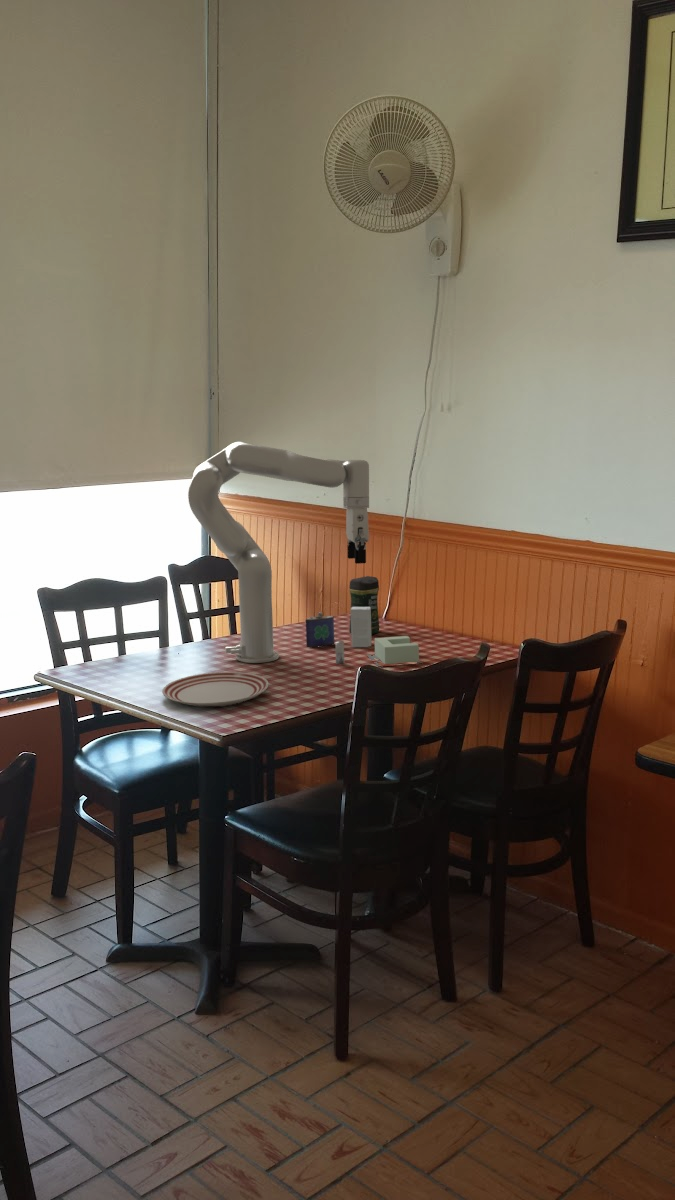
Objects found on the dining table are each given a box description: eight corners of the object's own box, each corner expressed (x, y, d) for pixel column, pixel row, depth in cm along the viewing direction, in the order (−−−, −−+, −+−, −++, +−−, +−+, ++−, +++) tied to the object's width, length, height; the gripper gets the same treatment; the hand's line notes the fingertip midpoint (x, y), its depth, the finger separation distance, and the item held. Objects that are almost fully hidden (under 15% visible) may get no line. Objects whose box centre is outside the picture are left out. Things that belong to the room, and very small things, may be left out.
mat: (378, 667, 303) (378, 666, 303) (366, 655, 316) (366, 654, 316) (422, 664, 306) (422, 662, 306) (408, 652, 319) (408, 651, 319)
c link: (385, 664, 304) (384, 647, 303) (374, 654, 316) (374, 638, 315) (418, 661, 306) (418, 644, 305) (407, 652, 318) (407, 635, 317)
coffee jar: (364, 638, 339) (363, 580, 335) (345, 634, 344) (344, 577, 341) (384, 632, 346) (383, 576, 342) (365, 629, 351) (364, 573, 348)
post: (336, 665, 306) (336, 643, 305) (335, 663, 309) (334, 641, 308) (345, 664, 307) (344, 642, 306) (343, 662, 309) (342, 640, 308)
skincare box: (371, 644, 330) (371, 606, 328) (370, 647, 326) (370, 609, 324) (352, 644, 331) (351, 606, 329) (351, 647, 327) (350, 609, 325)
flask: (332, 643, 333) (331, 609, 331) (336, 645, 331) (335, 611, 328) (305, 646, 330) (304, 612, 327) (308, 648, 327) (307, 614, 325)
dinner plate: (213, 720, 259) (212, 706, 258) (140, 700, 276) (140, 688, 276) (290, 694, 279) (290, 682, 278) (218, 677, 297) (218, 666, 296)
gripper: (376, 505, 304) (376, 564, 307) (362, 499, 321) (362, 556, 324) (350, 506, 303) (350, 565, 306) (337, 500, 319) (338, 557, 322)
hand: (356, 560), depth 315 cm, fingers open, 9 cm apart
